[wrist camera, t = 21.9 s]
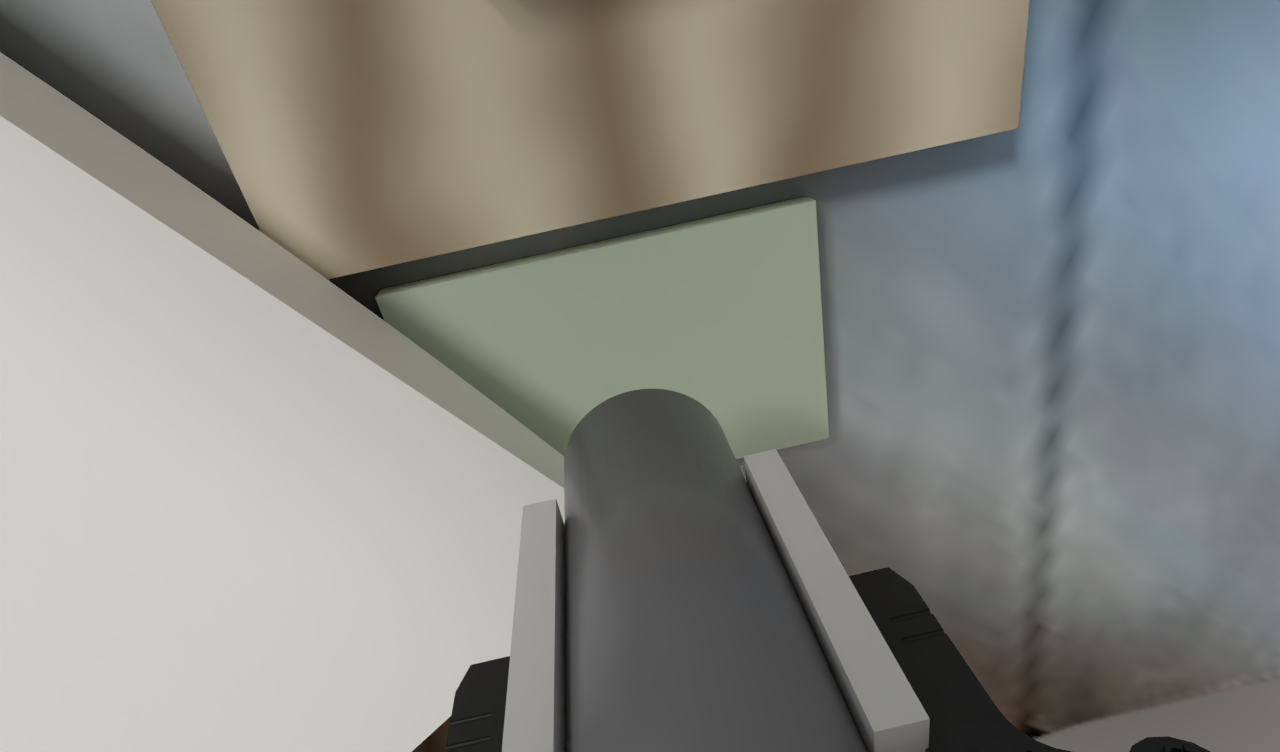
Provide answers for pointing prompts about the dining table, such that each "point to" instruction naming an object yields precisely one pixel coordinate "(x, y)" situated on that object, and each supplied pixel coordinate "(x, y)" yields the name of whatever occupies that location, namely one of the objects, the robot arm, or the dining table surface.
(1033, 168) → the dining table surface
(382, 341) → the board
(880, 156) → the socket plate
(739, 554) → the peg
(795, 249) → the pad
